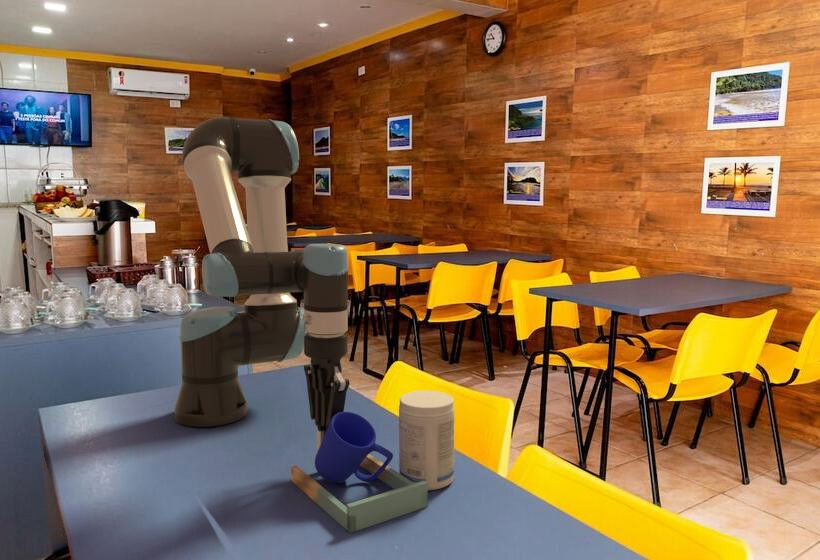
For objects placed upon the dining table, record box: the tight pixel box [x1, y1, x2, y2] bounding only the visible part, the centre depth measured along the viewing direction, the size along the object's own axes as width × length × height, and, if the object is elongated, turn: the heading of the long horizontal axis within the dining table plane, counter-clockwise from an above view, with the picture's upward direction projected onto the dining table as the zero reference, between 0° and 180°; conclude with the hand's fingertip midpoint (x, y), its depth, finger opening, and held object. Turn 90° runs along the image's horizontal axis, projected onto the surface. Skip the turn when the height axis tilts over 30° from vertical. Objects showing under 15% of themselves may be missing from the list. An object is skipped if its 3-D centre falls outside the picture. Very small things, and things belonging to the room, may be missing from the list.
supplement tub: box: [398, 390, 455, 491], centre depth 107 cm, size 10×10×15 cm
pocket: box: [316, 467, 429, 534], centre depth 99 cm, size 10×14×4 cm
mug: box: [314, 411, 394, 484], centre depth 106 cm, size 8×12×10 cm
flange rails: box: [290, 453, 391, 504], centre depth 107 cm, size 10×14×2 cm
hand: (325, 462), depth 111 cm, fingers closed
